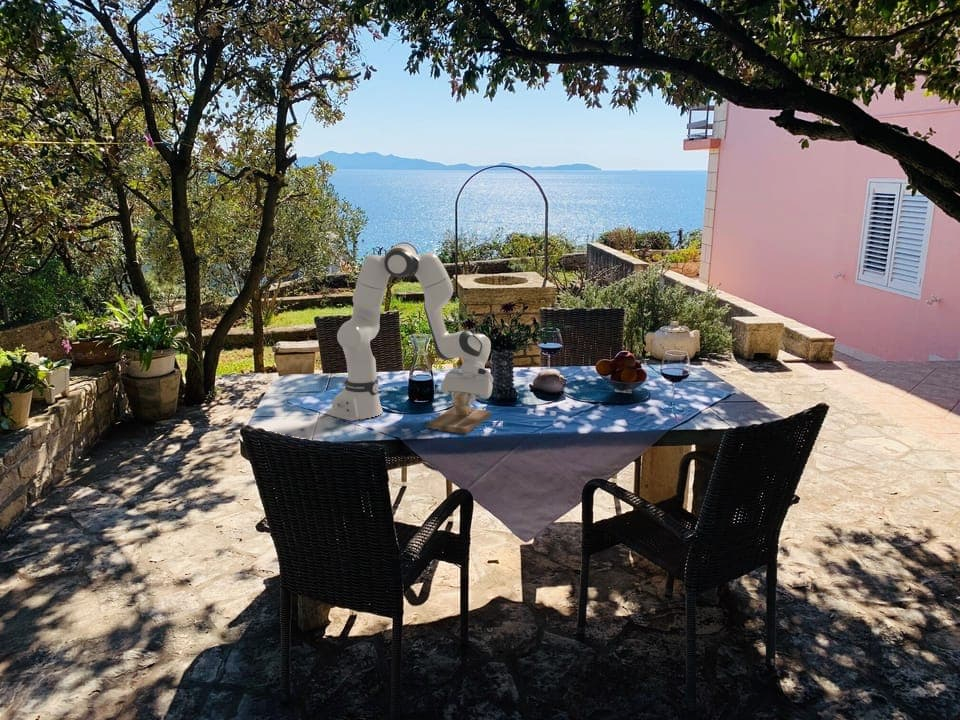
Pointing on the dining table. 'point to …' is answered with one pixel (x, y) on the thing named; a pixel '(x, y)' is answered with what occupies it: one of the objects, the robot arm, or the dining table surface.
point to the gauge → (461, 404)
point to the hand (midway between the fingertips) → (460, 404)
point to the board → (459, 421)
